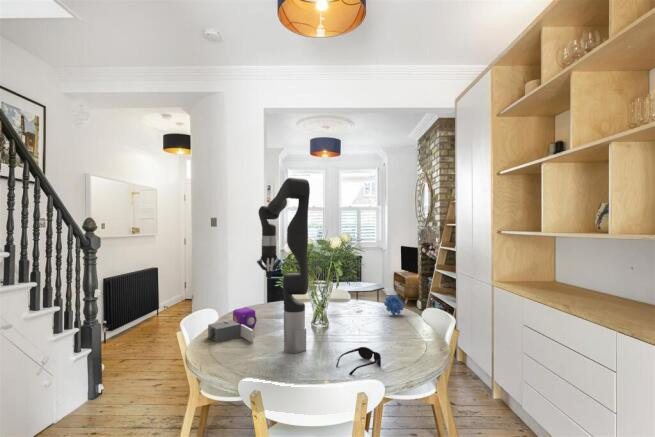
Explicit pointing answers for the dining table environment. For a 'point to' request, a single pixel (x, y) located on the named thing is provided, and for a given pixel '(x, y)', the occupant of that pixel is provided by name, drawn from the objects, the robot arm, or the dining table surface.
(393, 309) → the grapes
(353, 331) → the dining table surface
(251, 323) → the toy camera
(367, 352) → the sunglasses
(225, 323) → the camera case
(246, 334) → the side door
